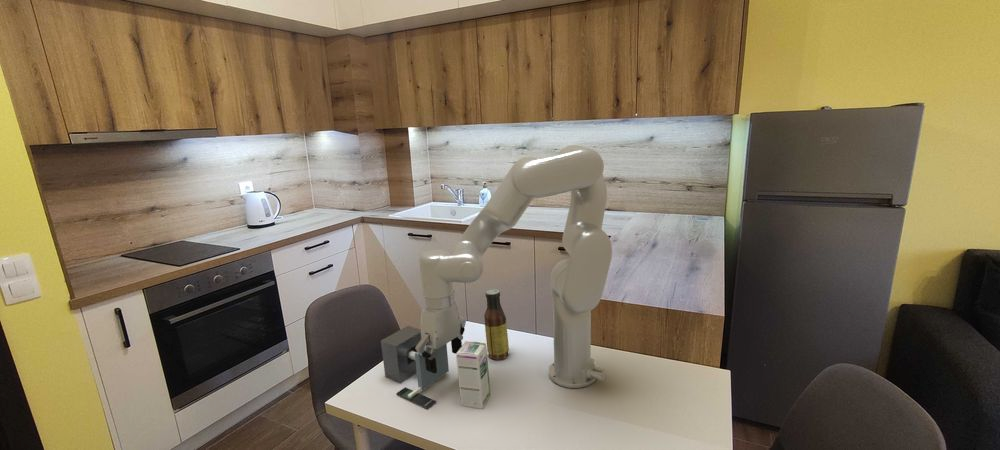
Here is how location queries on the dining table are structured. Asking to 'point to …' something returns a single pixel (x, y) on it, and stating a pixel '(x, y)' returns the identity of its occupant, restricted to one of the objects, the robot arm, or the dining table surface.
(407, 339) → the frame
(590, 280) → the robot arm
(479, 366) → the syrup box
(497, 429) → the dining table surface
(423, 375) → the blue-grey plate with rod
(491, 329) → the sauce bottle
